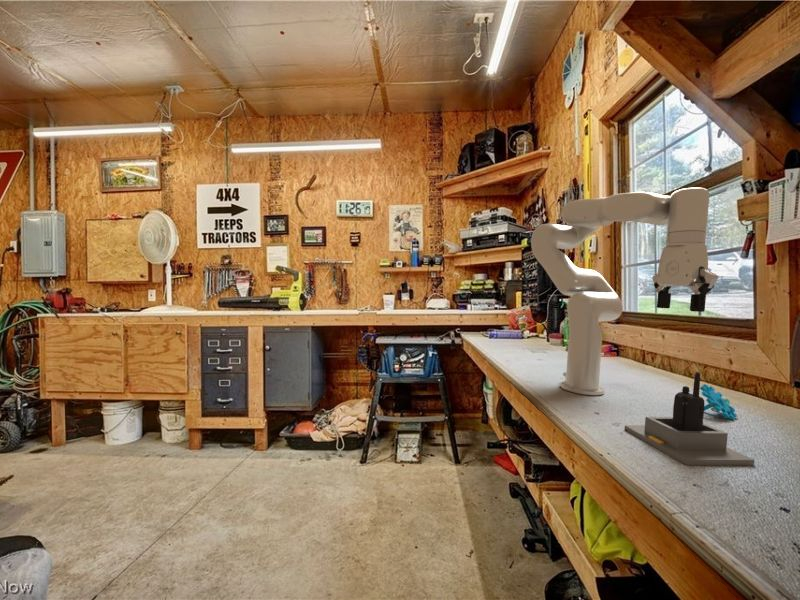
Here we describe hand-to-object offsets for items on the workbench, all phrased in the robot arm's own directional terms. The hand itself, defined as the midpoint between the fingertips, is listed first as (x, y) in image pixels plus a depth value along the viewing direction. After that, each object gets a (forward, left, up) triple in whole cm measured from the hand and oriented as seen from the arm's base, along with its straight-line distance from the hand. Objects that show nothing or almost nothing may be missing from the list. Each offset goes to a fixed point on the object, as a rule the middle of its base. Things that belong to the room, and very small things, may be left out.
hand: (679, 309), depth 88 cm
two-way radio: (+14, -10, -27) cm, 32 cm away
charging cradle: (+14, -10, -28) cm, 33 cm away
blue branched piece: (-4, +18, -28) cm, 34 cm away
